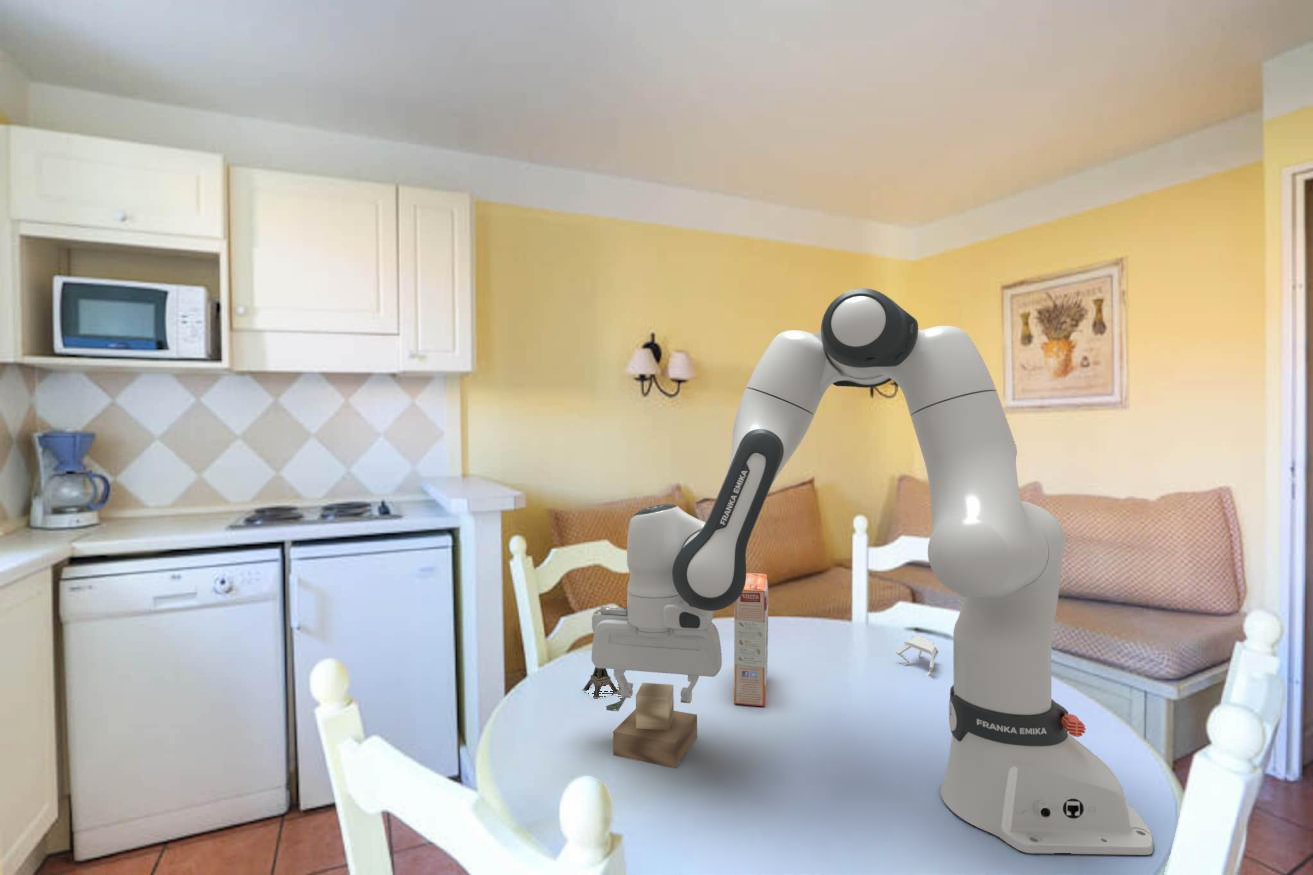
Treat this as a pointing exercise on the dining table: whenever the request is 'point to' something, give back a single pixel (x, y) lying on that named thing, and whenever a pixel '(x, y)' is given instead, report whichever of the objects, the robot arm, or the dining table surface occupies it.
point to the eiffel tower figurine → (603, 679)
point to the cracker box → (751, 641)
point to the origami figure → (921, 645)
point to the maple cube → (654, 706)
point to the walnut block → (656, 740)
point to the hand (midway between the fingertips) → (656, 698)
